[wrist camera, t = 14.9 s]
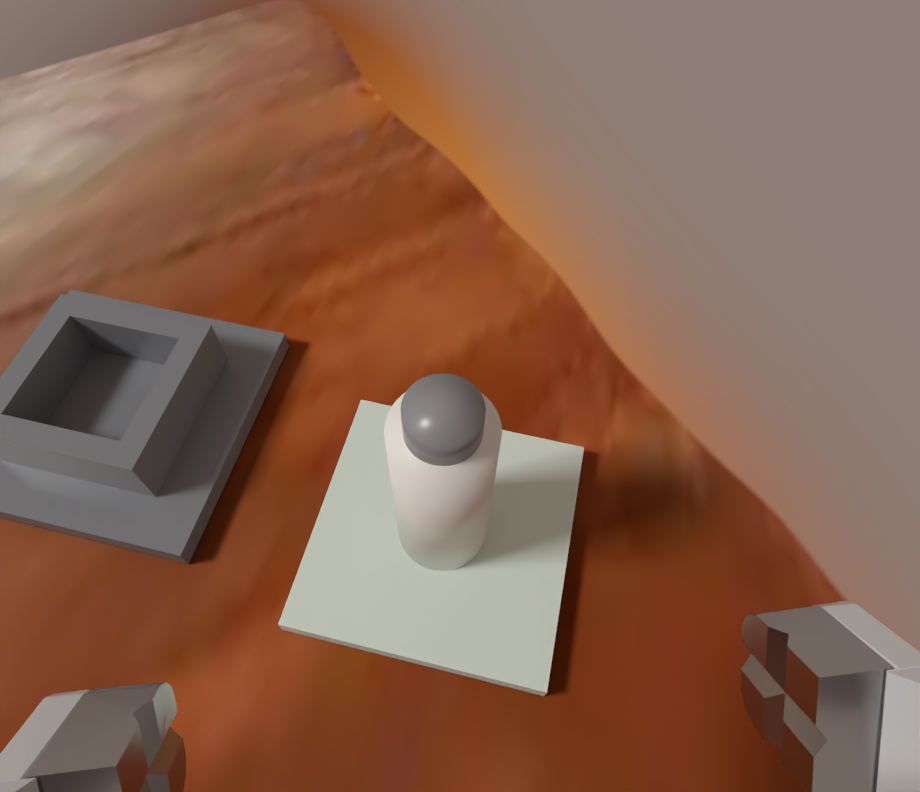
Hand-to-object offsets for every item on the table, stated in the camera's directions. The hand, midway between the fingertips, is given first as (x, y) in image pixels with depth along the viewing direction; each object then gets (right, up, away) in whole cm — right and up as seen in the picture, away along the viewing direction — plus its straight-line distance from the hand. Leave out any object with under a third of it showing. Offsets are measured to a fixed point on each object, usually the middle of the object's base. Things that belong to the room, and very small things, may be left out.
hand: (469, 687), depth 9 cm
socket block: (-15, +3, +20) cm, 25 cm away
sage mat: (-1, -2, +18) cm, 18 cm away
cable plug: (-1, -1, +17) cm, 17 cm away
